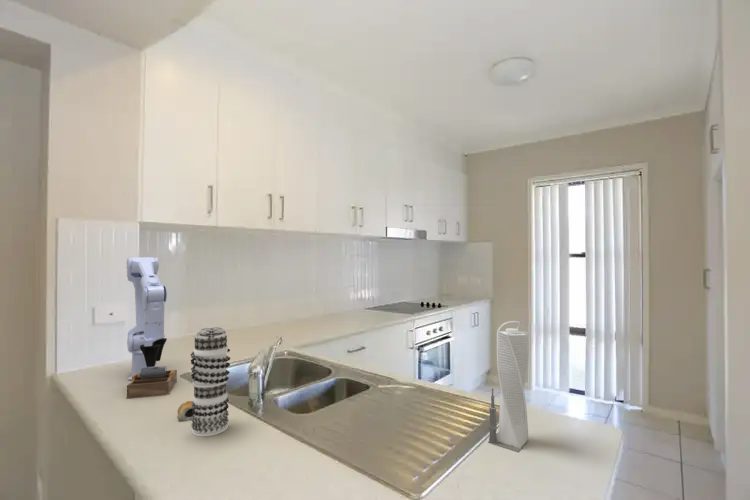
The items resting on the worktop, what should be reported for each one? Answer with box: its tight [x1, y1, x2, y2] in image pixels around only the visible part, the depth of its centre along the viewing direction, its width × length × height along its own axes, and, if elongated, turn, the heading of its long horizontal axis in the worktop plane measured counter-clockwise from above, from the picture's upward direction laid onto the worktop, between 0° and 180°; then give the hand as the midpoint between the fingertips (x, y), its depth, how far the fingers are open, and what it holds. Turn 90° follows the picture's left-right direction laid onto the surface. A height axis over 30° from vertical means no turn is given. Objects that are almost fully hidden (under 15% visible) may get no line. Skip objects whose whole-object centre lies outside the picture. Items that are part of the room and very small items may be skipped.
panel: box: [141, 366, 167, 380], centre depth 123 cm, size 2×7×6 cm, turn 108°
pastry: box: [177, 400, 194, 422], centre depth 104 cm, size 9×7×4 cm
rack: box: [126, 369, 178, 400], centre depth 123 cm, size 14×11×5 cm
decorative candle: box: [190, 326, 231, 438], centre depth 95 cm, size 9×9×25 cm
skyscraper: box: [487, 320, 530, 453], centre depth 88 cm, size 8×8×28 cm
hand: (153, 363), depth 124 cm, fingers open, 6 cm apart
